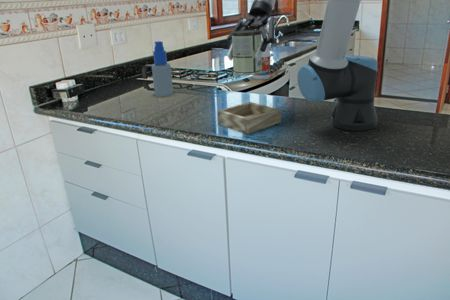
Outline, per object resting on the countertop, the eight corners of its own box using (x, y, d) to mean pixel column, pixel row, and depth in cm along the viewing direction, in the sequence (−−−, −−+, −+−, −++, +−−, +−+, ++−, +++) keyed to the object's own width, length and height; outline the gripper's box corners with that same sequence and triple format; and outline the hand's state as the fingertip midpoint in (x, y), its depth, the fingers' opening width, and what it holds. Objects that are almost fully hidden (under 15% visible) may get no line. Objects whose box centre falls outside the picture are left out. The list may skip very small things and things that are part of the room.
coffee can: (234, 70, 138) (232, 30, 133) (262, 69, 137) (261, 29, 132) (231, 75, 128) (229, 32, 123) (261, 74, 127) (261, 31, 122)
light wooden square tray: (280, 123, 134) (281, 109, 132) (248, 134, 125) (247, 120, 123) (250, 114, 146) (250, 101, 144) (218, 124, 137) (217, 110, 135)
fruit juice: (266, 76, 213) (265, 24, 203) (272, 79, 205) (273, 25, 194) (250, 77, 211) (249, 25, 200) (256, 80, 202) (256, 26, 192)
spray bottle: (157, 97, 178) (151, 43, 168) (152, 93, 186) (146, 41, 176) (175, 94, 181) (170, 41, 172) (170, 91, 189) (164, 39, 179)
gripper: (294, 13, 132) (276, 66, 126) (238, 15, 143) (219, 63, 137) (289, -3, 126) (269, 51, 119) (231, 1, 137) (210, 50, 131)
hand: (242, 58), depth 128 cm, fingers closed on coffee can, 10 cm apart
